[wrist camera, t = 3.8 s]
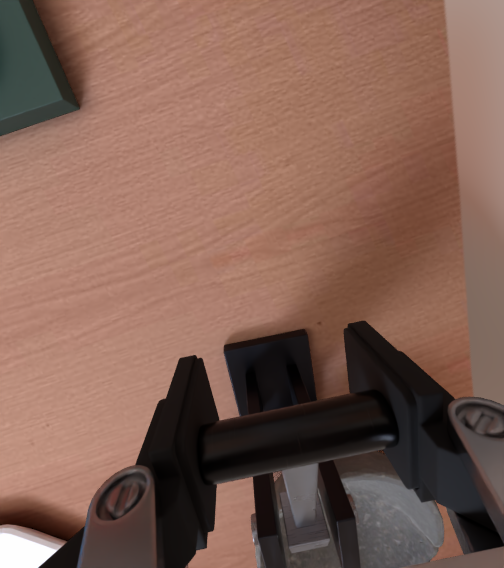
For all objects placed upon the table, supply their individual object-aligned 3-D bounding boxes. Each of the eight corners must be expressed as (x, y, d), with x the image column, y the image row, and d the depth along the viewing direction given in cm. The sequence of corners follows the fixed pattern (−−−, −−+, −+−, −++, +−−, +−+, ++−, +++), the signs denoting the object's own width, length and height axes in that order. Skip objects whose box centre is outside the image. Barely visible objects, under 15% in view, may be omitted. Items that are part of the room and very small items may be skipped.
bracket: (223, 345, 27) (214, 505, 13) (304, 328, 27) (383, 470, 13) (243, 425, 30) (254, 627, 16) (316, 410, 30) (391, 598, 16)
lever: (196, 399, 8) (195, 503, 6) (368, 363, 8) (417, 457, 6) (261, 506, 18) (267, 558, 16) (336, 490, 18) (352, 540, 16)
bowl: (416, 413, 31) (476, 483, 24) (382, 524, 36) (422, 611, 29) (256, 411, 30) (265, 485, 22) (244, 527, 35) (248, 621, 27)
